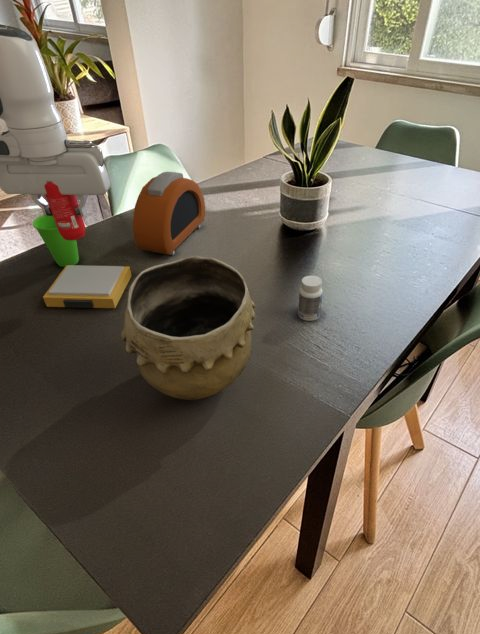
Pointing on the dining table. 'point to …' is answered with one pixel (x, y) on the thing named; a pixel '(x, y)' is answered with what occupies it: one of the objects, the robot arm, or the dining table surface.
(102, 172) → the robot arm
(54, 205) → the beverage can
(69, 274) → the scale
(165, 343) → the clay pot
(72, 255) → the cup
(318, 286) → the pill bottle
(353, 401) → the dining table surface
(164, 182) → the alarm clock
